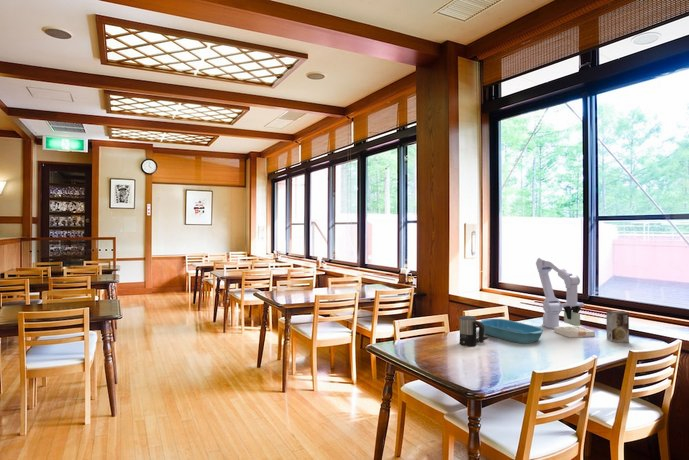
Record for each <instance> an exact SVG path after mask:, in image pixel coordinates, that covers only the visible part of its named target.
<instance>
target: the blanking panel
mask: <svg viewBox="0 0 689 460" xmlns="http://www.w3.org/2000/svg"><path fill="white" fill-rule="evenodd" d="M563 321H564V323H565V324H568V325H570V326H580V327H581V313H579V312H578V313H576V312H571V319H567V315H566V312H565V310H563Z"/></svg>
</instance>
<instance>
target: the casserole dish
mask: <svg viewBox="0 0 689 460" xmlns="http://www.w3.org/2000/svg"><path fill="white" fill-rule="evenodd" d="M479 322H481V323H482V324H483V325H484V335H488V336H490V337H493V338H498V339H502V340H504V341H509V342H513V343H518V344H530V343H534V342H536V341H538V340H540V338H541V337H542V334H543V331H544V329H543V328H542V327H539V326H535V325H532V324H531V325H530V324H526V323H524V322H523V323H522V322H519V321H513V320H510V319H503V318H485V319H481V321H479Z"/></svg>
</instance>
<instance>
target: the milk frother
mask: <svg viewBox="0 0 689 460" xmlns="http://www.w3.org/2000/svg"><path fill="white" fill-rule="evenodd" d="M458 318H459V343H458V344H459V345H460V346H464V347H475V346H477V345H478V344H477V343H480V344H481V343H484V341H487V340H488V339H489V337H488V336H485V333H484V325H483V324H482V323H481V322H480V321H479V320H477V317H476V316H473V315H461V316H459V317H458ZM477 327H478V337H477Z"/></svg>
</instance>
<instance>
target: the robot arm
mask: <svg viewBox="0 0 689 460" xmlns="http://www.w3.org/2000/svg"><path fill="white" fill-rule="evenodd" d="M535 266H536V270H537V272H538V275H539V278H540V282H541V287H542V289H543V294H544V297H545V299H544V300H543V301H542V308H543V311H544V313H543V315H542V324H541V326H543V327H545V328H547V329H550V330H552V329H553V330H554V327H560V314H561V312H562V311H565V312H566V315H567V319H571V312H576V313H579V312H580V311H581V310H582V307H585V303H583V302H578V286H579V284H580V282H581V279H580V278H579V276H578V275H573V273H571V271H569V270H568V269H567V268H562V267H561V266H560V265H559V264H558V263H557V262H556V259H555V258H553V257H538V258H537V259H536V262H535ZM552 270H554V272H555V273H556V272H557V275H558V277H560V278H561V279H562V280H563V283H564V284H565V289H566V297H565V298H566V299H565V300H566V302H564V303H561V301H560V300H559V298H557V297H556V296H555V292H554V289H553V286H552V282H551V279H550V276H549V273H550V272H551V271H552Z"/></svg>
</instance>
